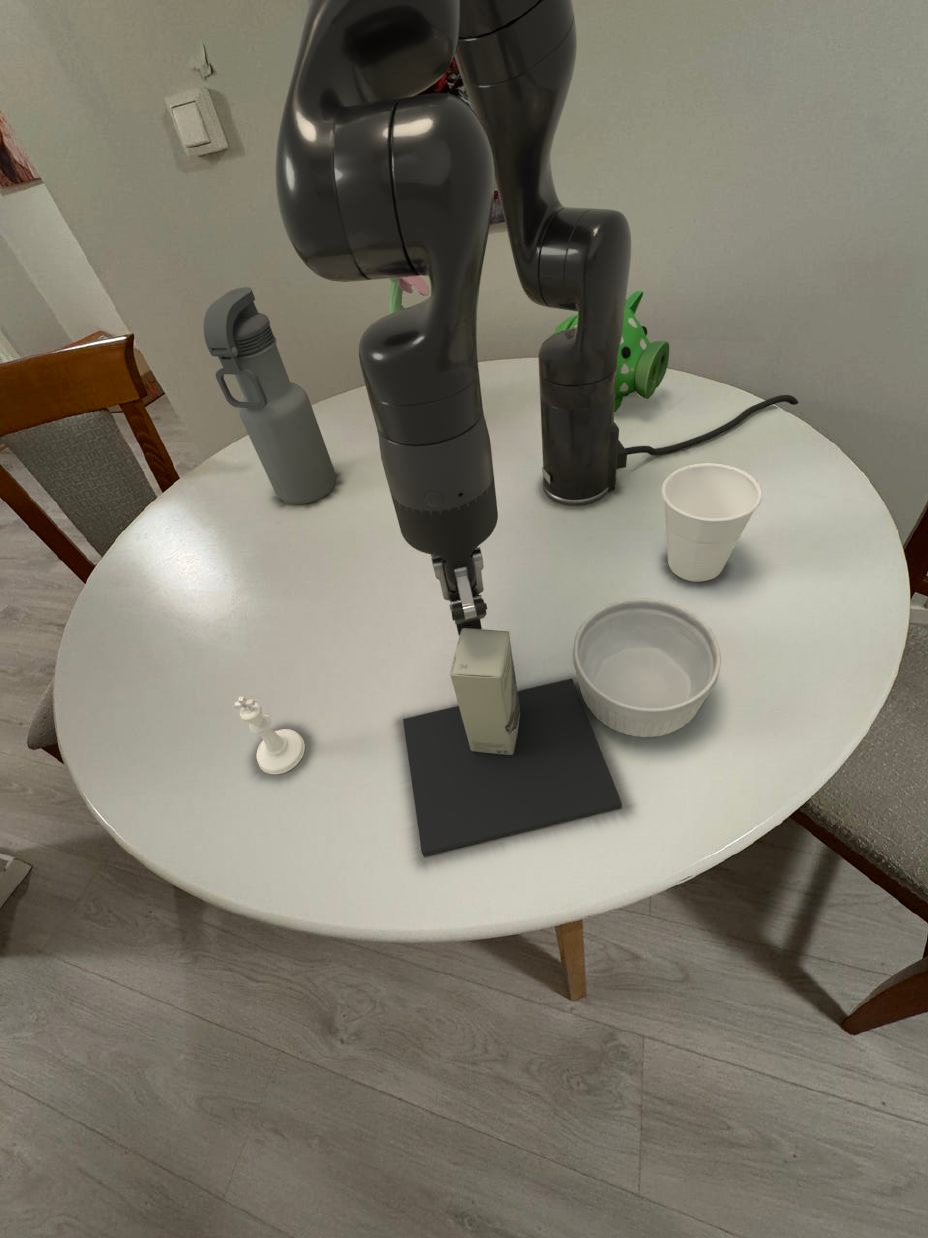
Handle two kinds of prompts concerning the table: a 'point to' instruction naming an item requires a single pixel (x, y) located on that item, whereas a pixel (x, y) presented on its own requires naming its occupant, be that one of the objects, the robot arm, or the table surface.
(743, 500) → the cup
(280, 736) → the chess piece
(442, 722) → the mat
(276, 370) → the water bottle
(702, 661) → the ramekin
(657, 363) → the piggy bank
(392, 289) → the decorative flower
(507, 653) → the box
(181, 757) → the table surface
